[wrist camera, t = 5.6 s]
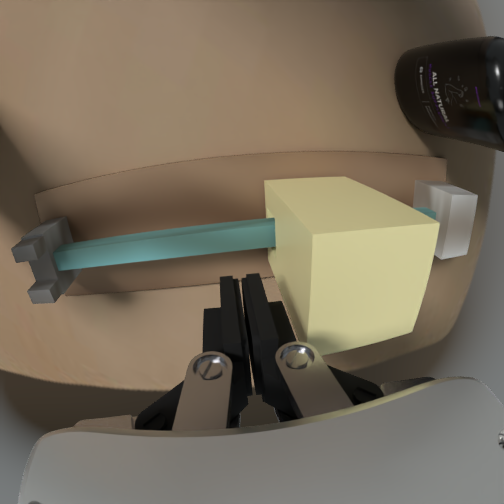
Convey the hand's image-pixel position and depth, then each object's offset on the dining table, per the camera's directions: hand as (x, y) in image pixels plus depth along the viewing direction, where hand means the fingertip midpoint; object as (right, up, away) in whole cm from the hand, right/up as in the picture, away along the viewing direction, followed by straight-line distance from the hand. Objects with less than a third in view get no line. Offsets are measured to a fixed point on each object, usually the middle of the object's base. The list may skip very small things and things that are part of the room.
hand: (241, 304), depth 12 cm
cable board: (+1, +4, +5) cm, 7 cm away
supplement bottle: (+13, +14, +3) cm, 19 cm away
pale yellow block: (+4, +5, +6) cm, 8 cm away
